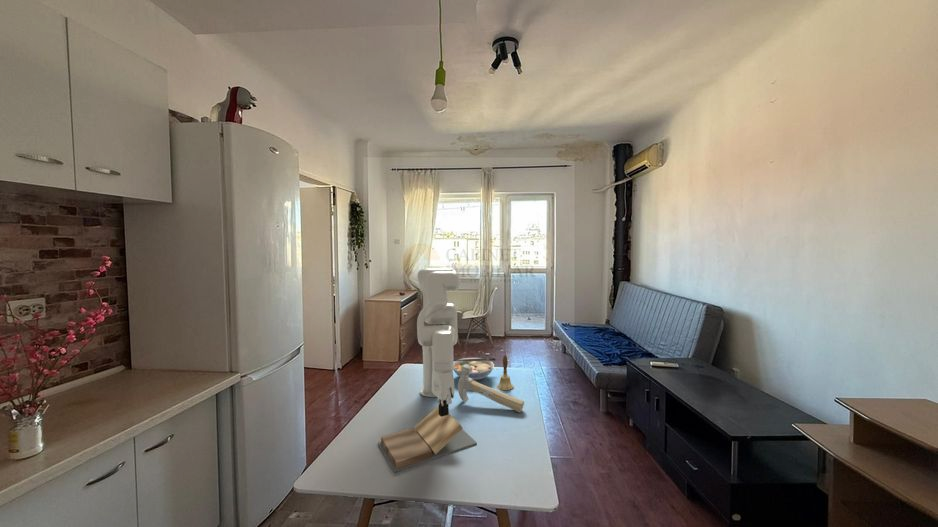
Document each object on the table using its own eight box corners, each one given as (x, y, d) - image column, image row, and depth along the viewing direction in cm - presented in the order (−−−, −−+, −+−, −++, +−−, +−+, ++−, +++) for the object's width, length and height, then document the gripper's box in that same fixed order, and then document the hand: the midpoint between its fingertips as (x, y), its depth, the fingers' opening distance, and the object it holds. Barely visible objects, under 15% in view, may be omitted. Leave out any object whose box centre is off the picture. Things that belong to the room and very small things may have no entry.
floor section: (378, 444, 123) (377, 436, 123) (453, 421, 138) (453, 415, 138) (394, 472, 107) (394, 464, 107) (476, 444, 122) (476, 437, 122)
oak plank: (416, 431, 130) (413, 427, 129) (441, 408, 135) (439, 404, 134) (435, 454, 115) (432, 450, 114) (462, 428, 120) (460, 424, 119)
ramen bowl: (448, 387, 172) (448, 371, 171) (449, 370, 194) (449, 356, 194) (498, 386, 172) (498, 370, 172) (494, 370, 195) (494, 355, 195)
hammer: (527, 388, 147) (465, 363, 159) (524, 392, 143) (460, 366, 154) (519, 421, 149) (458, 394, 161) (516, 427, 145) (454, 398, 157)
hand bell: (493, 386, 173) (493, 354, 172) (505, 382, 178) (505, 351, 177) (504, 392, 166) (504, 359, 165) (517, 387, 171) (517, 355, 170)
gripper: (425, 360, 129) (425, 409, 130) (442, 373, 116) (443, 426, 117) (443, 357, 133) (443, 404, 134) (462, 369, 120) (462, 421, 121)
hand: (443, 414), depth 125 cm, fingers closed
